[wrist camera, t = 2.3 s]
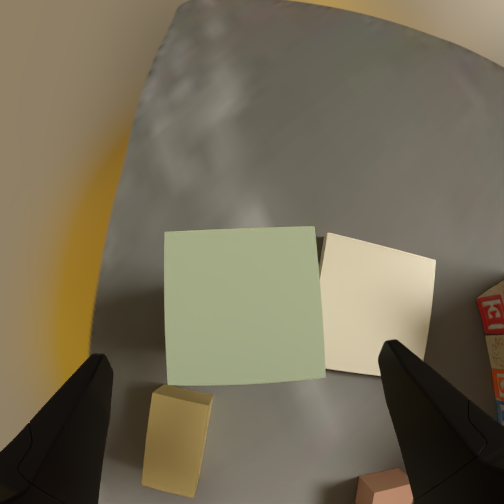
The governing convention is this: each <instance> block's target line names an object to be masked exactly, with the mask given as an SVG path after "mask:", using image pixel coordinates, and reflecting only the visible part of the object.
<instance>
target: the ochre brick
mask: <svg viewBox="0 0 504 504" xmlns="http://www.w3.org/2000/svg"><path fill="white" fill-rule="evenodd" d="M212 400H213V395H212V394H207V393H202V392H197V391H192V390H188V389H183V388H179V387H175V386H170V385H166V384H164V385H163V386H161V387H160V388H158V389H157V390H155V391H154V392H153V393H152V399H151V406H150V413H149V421H148V429H147V437H146V445H145V454H144V464H143V474H142V485H144V486H147V487H151V488H154V489H158V490H162V491H166V492H170V493H174V494H178V495H182V496H187V497H191V498H194V495H195V491H196V488H197V484H198V481H199V476H200V470H201V464H202V458H203V452H204V447H205V441H206V435H207V429H208V423H209V417H210V412H211V406H212Z"/></svg>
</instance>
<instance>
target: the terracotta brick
mask: <svg viewBox="0 0 504 504" xmlns="http://www.w3.org/2000/svg"><path fill="white" fill-rule="evenodd" d="M412 501H413V495H412V491H411V487H410V483H409V479H408V475H407V474H405V473H404V472H403V471H402V470H400V469H399V468H395V469H391V470H387V471H382V472H377V473H373V474H367V475H362V476H359V481H358V488H357V495H356V501H355V504H412Z"/></svg>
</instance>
